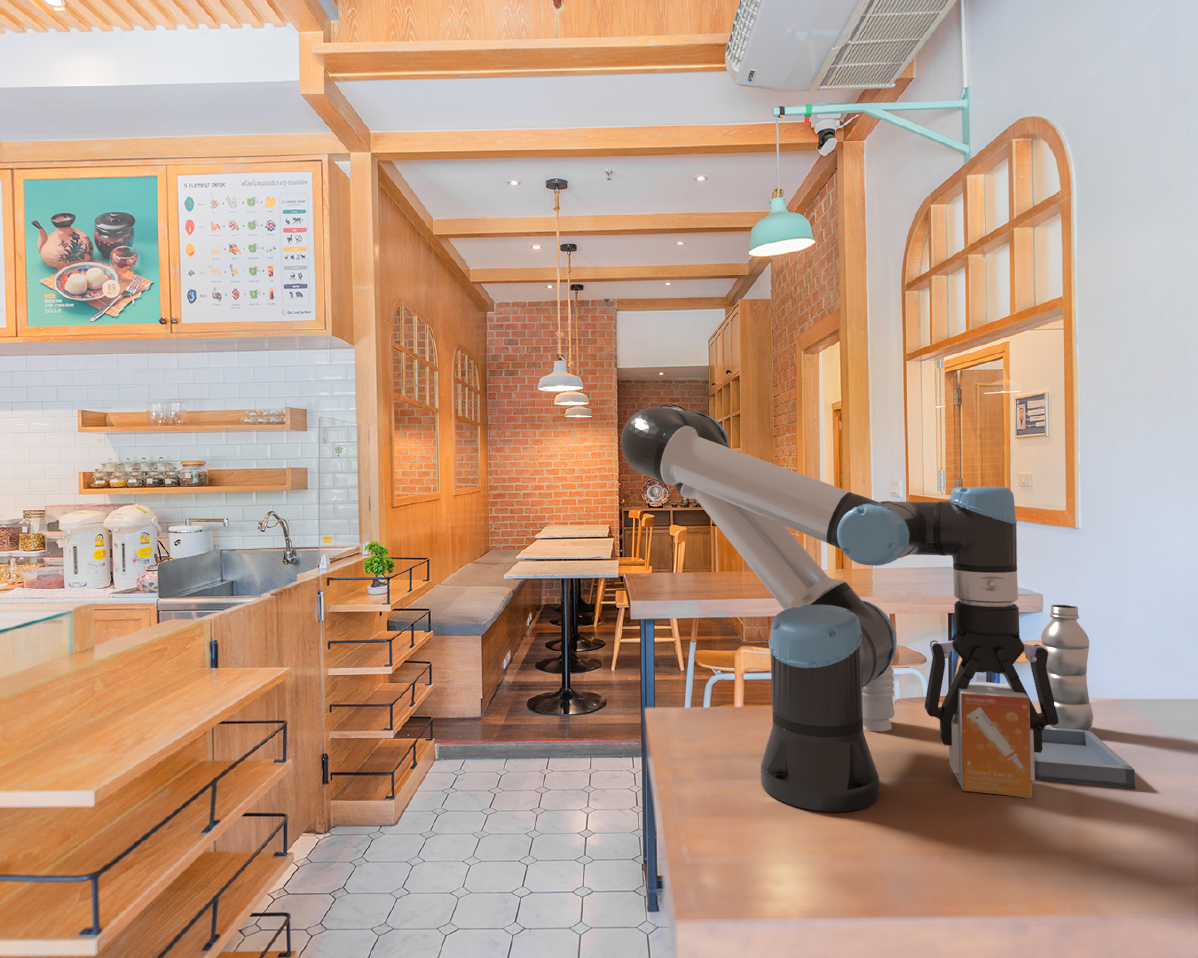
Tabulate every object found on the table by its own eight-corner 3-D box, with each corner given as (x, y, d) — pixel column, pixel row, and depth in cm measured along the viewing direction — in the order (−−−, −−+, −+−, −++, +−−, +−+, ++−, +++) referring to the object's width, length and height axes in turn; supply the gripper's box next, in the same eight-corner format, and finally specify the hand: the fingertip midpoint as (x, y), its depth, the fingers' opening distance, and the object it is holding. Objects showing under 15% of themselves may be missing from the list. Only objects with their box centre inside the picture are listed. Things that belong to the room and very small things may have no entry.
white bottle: (842, 720, 118) (840, 633, 118) (878, 716, 119) (875, 630, 119) (867, 734, 111) (864, 641, 111) (904, 729, 113) (901, 638, 113)
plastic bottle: (1103, 736, 108) (1099, 609, 108) (1060, 737, 108) (1056, 610, 108) (1075, 722, 114) (1071, 602, 114) (1035, 723, 114) (1031, 603, 115)
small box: (962, 792, 89) (959, 692, 90) (953, 772, 95) (950, 679, 96) (1033, 799, 87) (1030, 696, 87) (1019, 779, 93) (1016, 682, 93)
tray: (1030, 779, 93) (1029, 760, 93) (1000, 739, 107) (1000, 723, 107) (1135, 788, 89) (1134, 769, 89) (1090, 746, 104) (1089, 730, 104)
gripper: (904, 603, 91) (909, 775, 91) (1087, 608, 85) (1093, 792, 84) (897, 595, 98) (902, 754, 98) (1065, 599, 92) (1071, 768, 92)
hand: (990, 772), depth 91 cm, fingers closed on small box, 8 cm apart
